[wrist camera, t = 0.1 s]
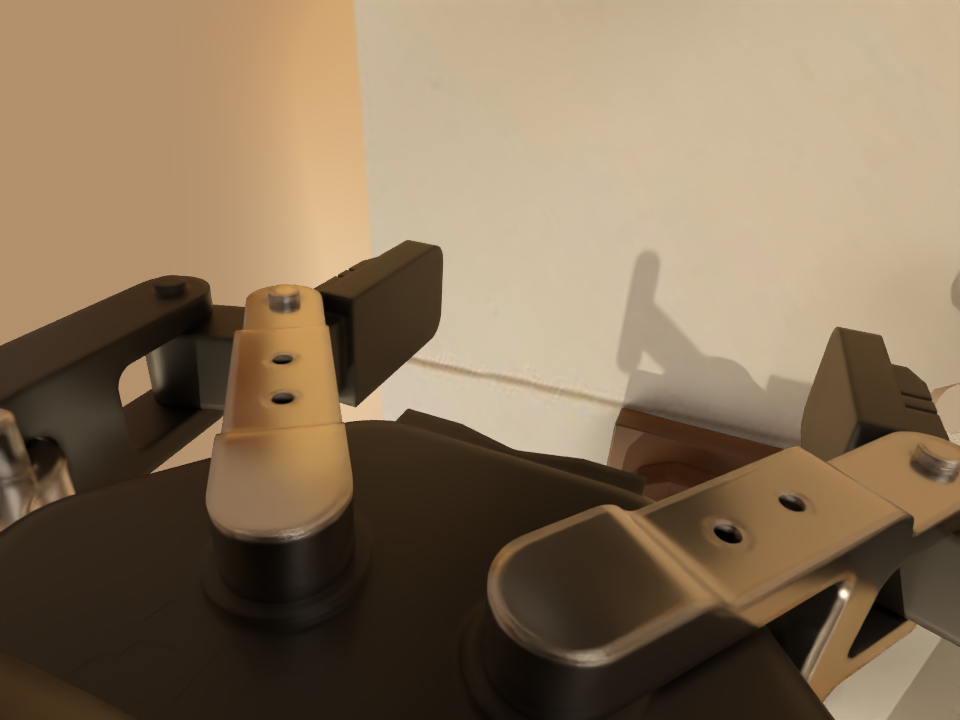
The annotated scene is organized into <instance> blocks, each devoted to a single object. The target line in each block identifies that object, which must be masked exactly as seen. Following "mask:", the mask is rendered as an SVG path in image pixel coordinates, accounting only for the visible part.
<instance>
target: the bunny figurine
mask: <svg viewBox="0 0 960 720" xmlns="http://www.w3.org/2000/svg"><path fill="white" fill-rule="evenodd" d="M931 397H932V402H934V404H935V407H936V409H937V411H938V412H937V415H939V416H940V419H941V421H942V423H943V426H944V428H945V431H947V432H949V433H960V383H957V384H954V385H950V386H946V387H942V388H938V389H935V390H934V391H933V392H932V393H931Z"/></svg>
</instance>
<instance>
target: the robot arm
mask: <svg viewBox="0 0 960 720" xmlns="http://www.w3.org/2000/svg"><path fill="white" fill-rule="evenodd" d="M442 276H443V254H442V250H441V248H440V247H439V246H436V245H431V244H426V243H421V242H416V241H411V240H407V241H404V242H403V243H401V244H399V245H397V246H396V247H394V248H392V249H391V250H389V251H387V252H385V253H384V254H382V255H380V256H378V257H376V258H372V259H368V260H364V261H362V262H360V263H358V264H356V265H354V266H353V267H351V268H349V270H346V271H344V272H342V273H340V274H339V275H338V277H336V276H335V277H333V278H332V279H330V280H328V281H326V282H325V283H323V284H321V285H319V286H318V287H316V288H314V289H312V288H308V287H305V286H299V285H277V286H270V287H266V288H262V289H259V290H257V291H255V292H253V293H251V294H250V295H249V296H248V297H247V299H246V305H245V307H237V306H224V305H212V298H211V292H210V286H209V284H208V282H206V281H205V280H202V279H199V278H196V277H189V276H177V275H176V276H175V275H170V276H163V277H159V278H156V279H151V280H148V281H145V282H143V283H140V284H138V285H136V286H133V287H131V288H129V289H127V290H124V291H122V292H120V293H118V294H116V295H113V296H111V297H109V298H107V299H104V300H102V301H100V302H97V303H95V304H93V305H91V306H89V307H86V308H84V309H82V310H80V311H77V312H75V313H73V314H71V315H68V316H66V317H64V318H62V319H59V320H57V321H55V322H53V323H50V324H48V325H46V326H44V327H41V328H39V329H37V330H35V331H32V332H30V333H28V334H26V335H23V336H21V337H19V338H17V339H14V340H12V341H10V342H8V343H5V344H3V345H1V346H0V720H835V719H834V718H833V716H832V715H831V714H830V712H829V711H828V710H827V708H826V707H825V706H824V704H823V702H824V700H825V699H826V698H827V696H828V695H829V694H830V693H831V692H832V691H833V689H834V688H835V687H836V686H837V685H839V684H840V683H841V682H842V681H843V680H845V679H846V678H848V677H849V676H850V675H852V674H853V673H854V672H856V671H857V670H859V669H860V668H861V667H863V666H864V665H866V664H867V663H868V662H870V661H871V660H873V659H874V658H875V657H877V656H878V655H879V654H881V653H882V652H884V651H885V650H886V649H888V648H889V647H891V646H892V645H893V644H895V643H896V642H898V641H899V640H900V639H902V638H903V637H904V636H906V635H907V634H909V633H910V632H911V631H912V630H913V629H914V628H915V627H916V625H917V624H918V625H920V626H922V627H923V628H925V629H927V630H929V631H931V632H933V633H935V634H937V635H938V636H940V637H942V638H944V639H946V640H948V641H950V642H952V643H953V644H955V645H957V646H959V647H960V446H959V445H957V444H955V443H952V442H950V440H949V438H948V435H947V433H946V431H945V428H944V426H943V423H942V421H941V419H940V416H939V415H937V412H938V411H937V409H936V407H935V404H934V402H932V397H931V394H930V392H929V390H928V387H927V385H926V383H925V382H924V381H922V380H921V379H920V378H919V377H918V376H917V375H915V374H914V373H913V372H912V371H911V370H910V369H908V368H907V367H903V366H898V365H893V364H891V362H890V359H889V356H888V353H887V350H886V347H885V344H884V341H883V338H882V336H881V335H876V334H871V333H866V332H861V331H856V330H851V329H846V328H841V327H836V328H835V329H834V331H833V332H832V334H831V337H830V339H829V342H828V344H827V347H826V350H825V352H824V355H823V358H822V361H821V364H820V366H819V369H818V372H817V375H816V377H815V380H814V383H813V386H812V388H811V391H810V394H809V397H808V399H807V402H806V406H805V409H804V413H803V418H802V424H801V442H802V447H801V446H793V447H790V448H788V449H785V450H783V451H780V452H778V453H775V454H773V455H770V456H768V457H766V458H763V459H761V460H758V461H756V462H753V463H751V464H748V465H746V466H744V467H741V468H739V469H736V470H734V471H731V472H729V473H726V474H724V475H722V476H719V477H717V478H714V479H712V480H709V481H707V482H704V483H702V484H700V485H697V486H695V487H692V488H690V489H687V490H685V491H682V492H680V493H678V494H675V495H673V496H670V497H668V498H665V499H663V500H660V501H658V502H655V501H654V500H652V499H650V498H648V497H646V496H644V495H643V493H644V488H645V484H646V480H647V477H644V476H640V475H637V474H633V473H630V472H626V471H623V470H619V469H616V468H612V467H609V466H605V465H602V464H599V463H595V462H592V461H588V460H585V459H579V458H571V457H563V456H556V455H548V454H540V453H532V452H525V451H518V450H514V449H512V448H509V447H507V446H505V445H503V444H501V443H499V442H497V441H495V440H493V439H491V438H489V437H487V436H485V435H483V434H481V433H479V432H477V431H475V430H473V429H471V428H469V427H467V426H465V425H463V424H460V423H457V422H453V421H450V420H446V419H443V418H439V417H436V416H432V415H429V414H425V413H422V412H418V411H415V410H412V409H407V410H406V411H405V412H404V413H403V414H402V415H401V416H400V417H399V418H398V419H397V420H396V421H384V420H364V421H354V422H347V423H344V422H342V416H341V410H340V403H343V404H346V405H350V406H353V407H357V406H358V405H359V404H360V403H361V402H362V401H363V400H364V399H365V398H367V397H368V396H369V395H370V394H371V393H372V392H373V391H374V390H375V389H377V388H378V387H379V386H380V385H381V384H382V383H383V382H384V381H385V380H387V379H388V378H389V377H390V376H391V375H392V374H393V373H394V372H395V371H397V370H398V369H399V368H400V367H401V366H402V365H403V364H404V363H405V362H406V361H408V360H409V359H410V358H411V357H412V356H413V355H414V354H415V353H416V352H418V351H419V350H420V349H421V348H422V347H423V346H424V345H425V344H426V343H427V342H429V341H430V340H431V339H432V338H433V336H434V335H435V333H436V331H437V329H438V326H439V322H440V317H441V302H442ZM143 356H146V361H147V365H148V370H149V375H150V380H151V384H152V389H151V390H149V391H148V392H146V393H145V394H143V395H141V396H140V397H138V398H137V399H135V400H134V401H132V402H130V403H129V404H127V405H126V406H124V407H123V408H122V404H121V399H120V395H119V390H118V384H119V379H120V376H121V374H122V372H123V371H124V370H125V368H126V367H127V366H128V365H130V364H131V363H133V362H134V361H136V360H138V359H140V358H141V357H143ZM223 415H224V416H223ZM222 416H223V423H222V431H221V434H216V436H215V438H214V443H213V450H212V457H211V458H208V459H204V460H201V461H196V462H193V463H189V464H185V465H181V466H178V467H174V468H170V469H166V470H163V471H159V472H155V473H151V472H152V471H153V470H155V469H156V468H158V467H159V466H160V465H161V464H163V463H164V462H165V461H166V460H168V459H169V458H170V457H172V456H173V455H174V454H175V453H177V452H178V451H179V450H181V449H182V448H183V447H184V446H186V445H187V444H188V443H189V442H191V441H192V440H193V439H195V438H196V437H197V436H198V435H200V434H201V433H202V432H204V431H205V430H206V429H207V428H209V427H210V426H211V425H212V424H214V423H215V422H216V421H218V420H219V419H220V418H221V417H222ZM150 473H151V474H150Z"/></svg>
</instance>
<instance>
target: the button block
mask: <svg viewBox="0 0 960 720" xmlns="http://www.w3.org/2000/svg"><path fill="white" fill-rule="evenodd" d="M780 451H783V449H779V448H775V447H772V446H768V445H764V444H760V443H756V442H752V441H748V440H745V439H741V438H737V437H733V436H729V435H725V434H721V433H718V432H714V431H710V430H706V429H702V428H698V427H694V426H691V425H687V424H683V423H679V422H675V421H671V420H667V419H664V418H660V417H656V416H652V415H648V414H644V413H640V412H637V411H633V410H629V409H625V408H622V409H621V411H620V413H619V416H618V418H617V421H616V423H615V427H614V432H613V437H612V442H611V447H610V452H609V457H608V462H607V466H609V467H612V468H616V469H619V470H623V471H626V472H630V473H633V474H637V475H640V476H644V477H647V480H646V484H645V488H644V493H643V495H644V496H646V497H648V498H650V499H652V500H654V501H655V502H658V501H660V500H663V499H665V498H668V497H670V496H673V495H675V494H678V493H680V492H682V491H685V490H687V489H690V488H692V487H695V486H697V485H700V484H702V483H704V482H707V481H709V480H712V479H714V478H717V477H719V476H722V475H724V474H726V473H729V472H731V471H734V470H736V469H739V468H741V467H744V466H746V465H748V464H751V463H753V462H756V461H758V460H761V459H763V458H766V457H768V456H770V455H773V454H775V453H778V452H780Z"/></svg>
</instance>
